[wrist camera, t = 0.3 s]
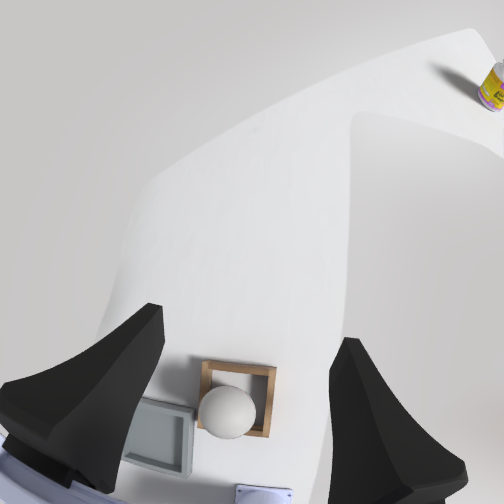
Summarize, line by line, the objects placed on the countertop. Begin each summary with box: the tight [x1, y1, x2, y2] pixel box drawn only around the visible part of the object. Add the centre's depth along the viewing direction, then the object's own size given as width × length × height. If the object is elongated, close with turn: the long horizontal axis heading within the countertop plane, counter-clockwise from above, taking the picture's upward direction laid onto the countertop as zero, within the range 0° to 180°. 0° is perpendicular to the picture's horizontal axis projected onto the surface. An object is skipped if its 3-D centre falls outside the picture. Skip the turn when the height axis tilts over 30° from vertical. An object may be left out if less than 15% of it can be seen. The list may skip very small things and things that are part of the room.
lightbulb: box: [199, 386, 256, 439], centre depth 32 cm, size 6×6×11 cm
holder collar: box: [197, 360, 276, 438], centre depth 36 cm, size 9×9×2 cm
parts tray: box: [121, 397, 195, 479], centre depth 36 cm, size 11×11×2 cm
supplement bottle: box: [478, 59, 504, 112], centre depth 38 cm, size 7×7×13 cm
